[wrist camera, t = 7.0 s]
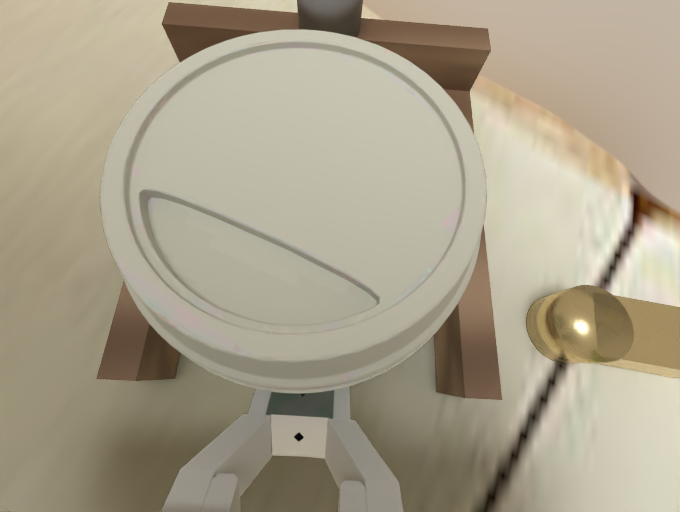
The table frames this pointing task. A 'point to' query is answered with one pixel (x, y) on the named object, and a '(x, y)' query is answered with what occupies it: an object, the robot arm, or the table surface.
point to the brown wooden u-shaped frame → (424, 52)
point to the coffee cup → (295, 208)
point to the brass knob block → (606, 330)
